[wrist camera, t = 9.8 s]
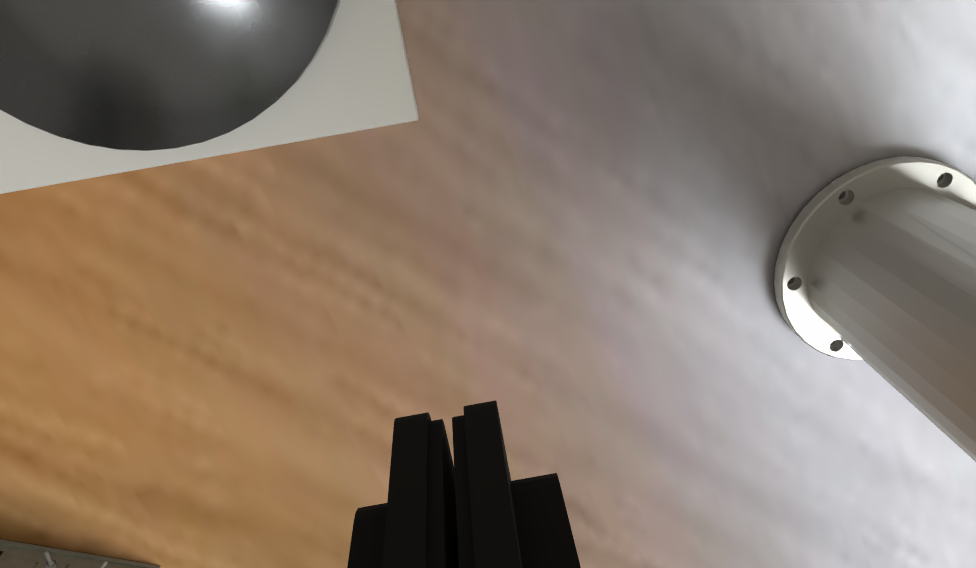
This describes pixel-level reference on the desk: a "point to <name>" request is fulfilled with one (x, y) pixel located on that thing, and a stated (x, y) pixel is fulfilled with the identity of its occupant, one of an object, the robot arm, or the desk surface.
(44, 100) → the dial
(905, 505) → the desk surface
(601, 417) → the desk surface
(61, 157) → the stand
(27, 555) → the geiger counter
